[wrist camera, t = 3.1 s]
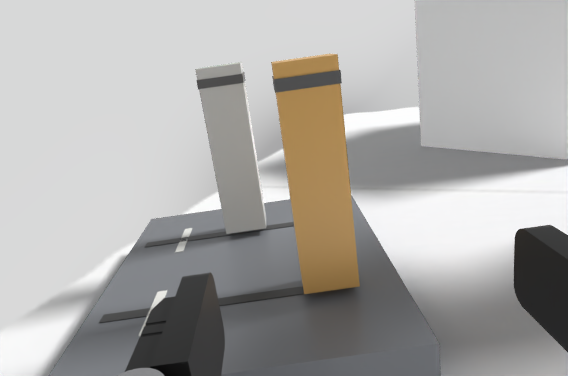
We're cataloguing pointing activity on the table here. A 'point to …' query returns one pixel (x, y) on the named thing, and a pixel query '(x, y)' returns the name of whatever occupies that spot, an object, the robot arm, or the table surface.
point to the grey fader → (232, 146)
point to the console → (260, 304)
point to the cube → (494, 75)
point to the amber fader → (317, 170)
